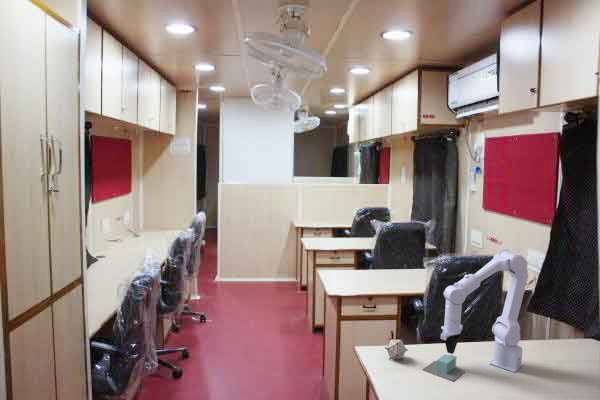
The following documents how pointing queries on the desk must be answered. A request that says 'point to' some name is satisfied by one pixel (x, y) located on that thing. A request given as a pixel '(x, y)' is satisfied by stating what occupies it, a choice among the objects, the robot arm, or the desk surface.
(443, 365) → the teal block
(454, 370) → the pad
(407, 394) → the desk surface
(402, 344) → the game die
